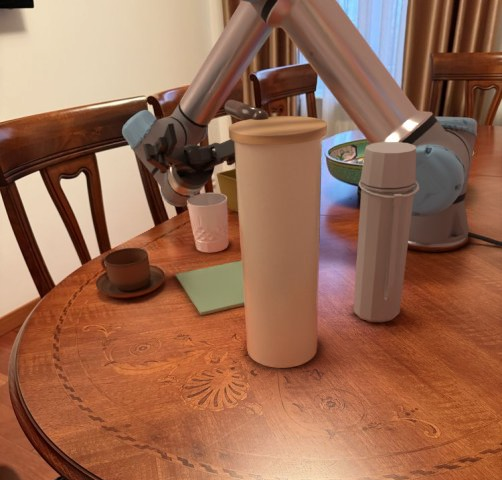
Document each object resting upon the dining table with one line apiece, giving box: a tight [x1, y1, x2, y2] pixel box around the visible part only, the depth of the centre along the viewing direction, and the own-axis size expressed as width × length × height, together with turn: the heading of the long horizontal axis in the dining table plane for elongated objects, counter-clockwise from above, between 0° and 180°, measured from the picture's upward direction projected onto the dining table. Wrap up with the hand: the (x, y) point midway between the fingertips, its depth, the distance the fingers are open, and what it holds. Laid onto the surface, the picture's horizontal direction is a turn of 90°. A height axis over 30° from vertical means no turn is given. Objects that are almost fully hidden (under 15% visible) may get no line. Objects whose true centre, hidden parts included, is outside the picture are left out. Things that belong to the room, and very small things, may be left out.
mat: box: [174, 260, 244, 316], centre depth 92 cm, size 16×16×1 cm
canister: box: [234, 137, 323, 369], centre depth 66 cm, size 10×10×29 cm
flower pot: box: [216, 167, 238, 213], centre depth 123 cm, size 9×9×9 cm
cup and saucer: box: [95, 247, 165, 299], centre depth 91 cm, size 12×12×6 cm
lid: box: [224, 99, 328, 145], centre depth 62 cm, size 22×11×2 cm, turn 22°
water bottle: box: [353, 142, 419, 323], centre depth 73 cm, size 9×8×25 cm
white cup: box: [187, 192, 230, 254], centre depth 104 cm, size 8×8×10 cm
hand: (217, 128), depth 78 cm, fingers open, 13 cm apart
